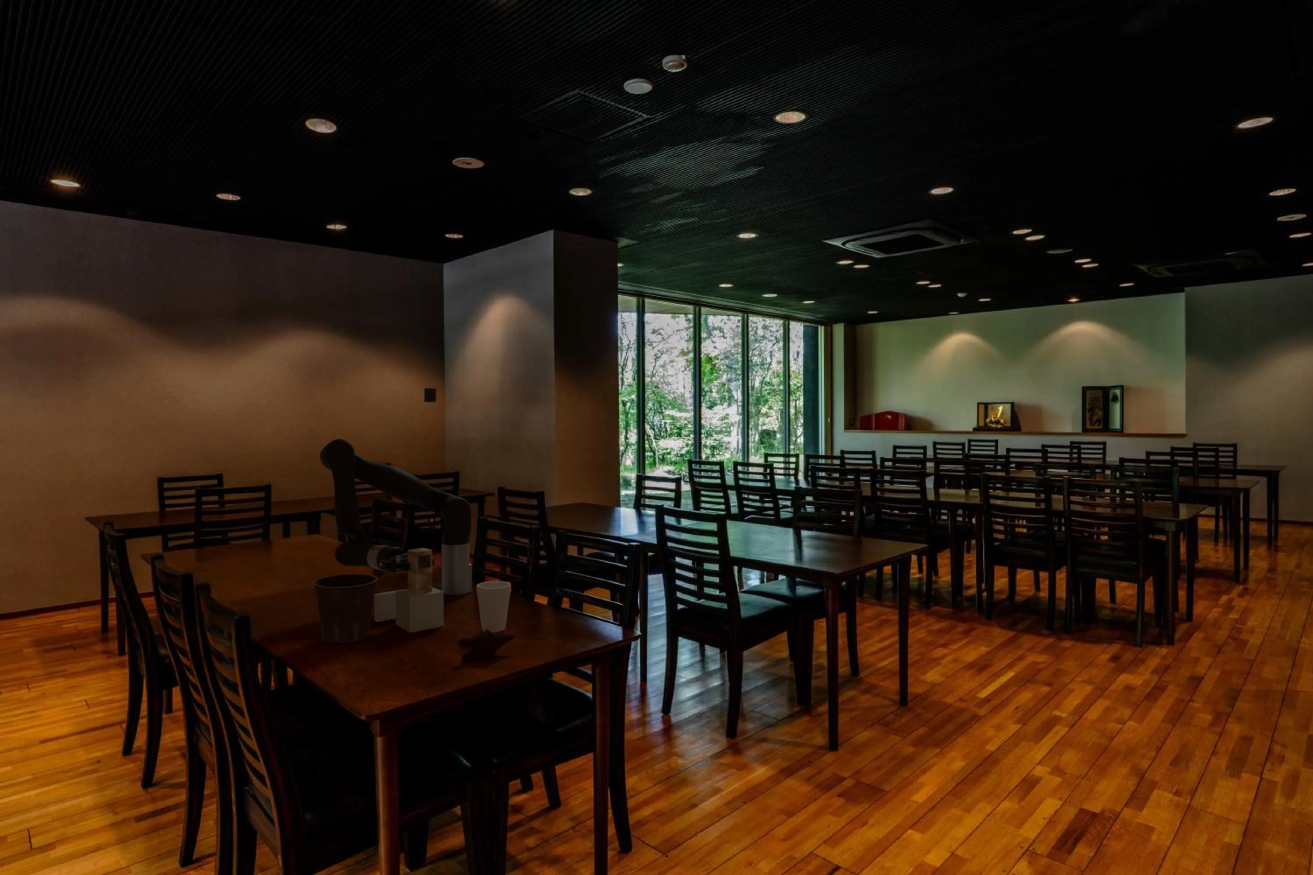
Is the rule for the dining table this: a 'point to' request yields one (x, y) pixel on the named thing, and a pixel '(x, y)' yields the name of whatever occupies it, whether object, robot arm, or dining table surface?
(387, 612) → the screen
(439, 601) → the stand
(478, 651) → the icecream
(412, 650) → the dining table surface
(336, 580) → the plant pot
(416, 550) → the birch block
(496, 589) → the foam cup
